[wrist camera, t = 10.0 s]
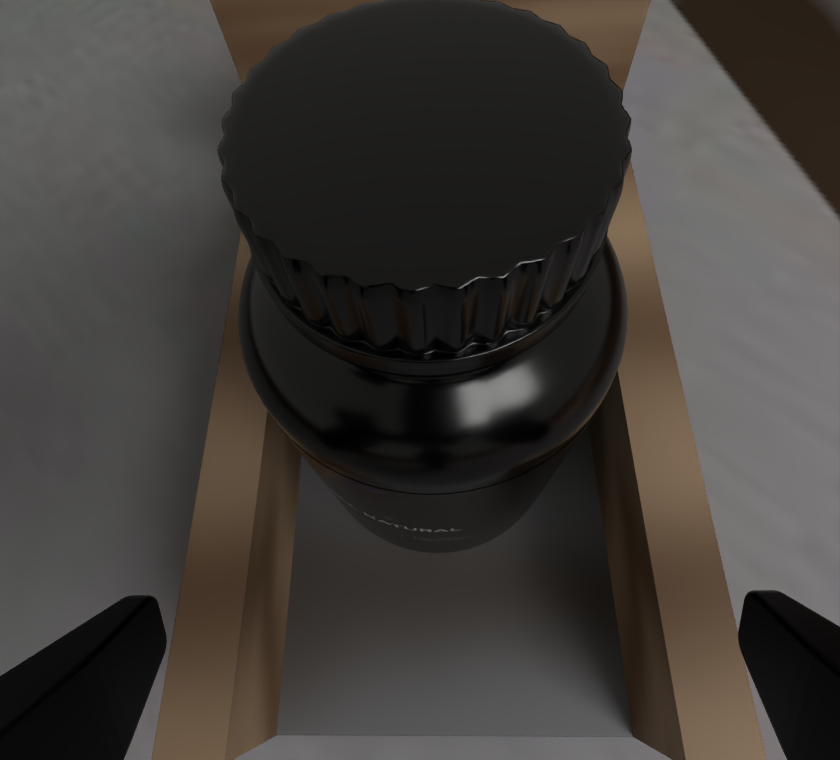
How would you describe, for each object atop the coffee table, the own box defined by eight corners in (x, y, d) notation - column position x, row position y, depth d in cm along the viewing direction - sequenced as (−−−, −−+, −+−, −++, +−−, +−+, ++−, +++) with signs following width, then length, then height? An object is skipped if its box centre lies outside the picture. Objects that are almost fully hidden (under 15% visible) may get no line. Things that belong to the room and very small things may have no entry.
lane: (686, 733, 14) (971, 855, 6) (228, 731, 15) (-30, 839, 7) (585, 168, 22) (654, -82, 14) (295, 183, 23) (212, -49, 15)
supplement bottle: (361, 590, 15) (131, 487, 5) (310, 382, 18) (96, 12, 7) (588, 515, 16) (874, 261, 5) (504, 323, 19) (571, -103, 8)
